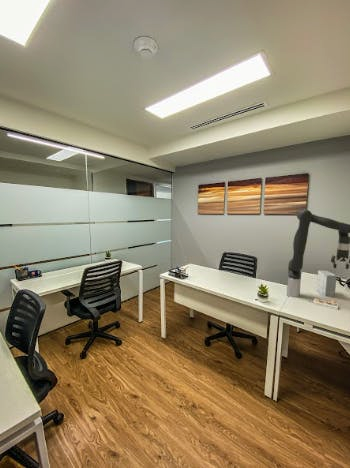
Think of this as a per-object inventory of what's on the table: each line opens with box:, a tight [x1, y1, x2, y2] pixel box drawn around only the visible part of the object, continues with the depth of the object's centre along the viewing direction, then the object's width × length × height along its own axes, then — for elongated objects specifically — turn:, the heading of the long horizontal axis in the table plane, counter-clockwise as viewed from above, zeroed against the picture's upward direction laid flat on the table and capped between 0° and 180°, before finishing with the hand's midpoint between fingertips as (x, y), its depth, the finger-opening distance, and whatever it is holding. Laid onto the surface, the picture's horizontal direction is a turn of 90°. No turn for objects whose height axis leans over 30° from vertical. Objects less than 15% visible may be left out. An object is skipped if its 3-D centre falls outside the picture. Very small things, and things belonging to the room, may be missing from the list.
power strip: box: [308, 298, 339, 311], centre depth 159 cm, size 18×7×3 cm, turn 51°
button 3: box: [330, 299, 337, 306], centre depth 155 cm, size 3×3×3 cm
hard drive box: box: [316, 270, 338, 299], centre depth 180 cm, size 16×8×20 cm, turn 168°
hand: (340, 268), depth 165 cm, fingers open, 8 cm apart
